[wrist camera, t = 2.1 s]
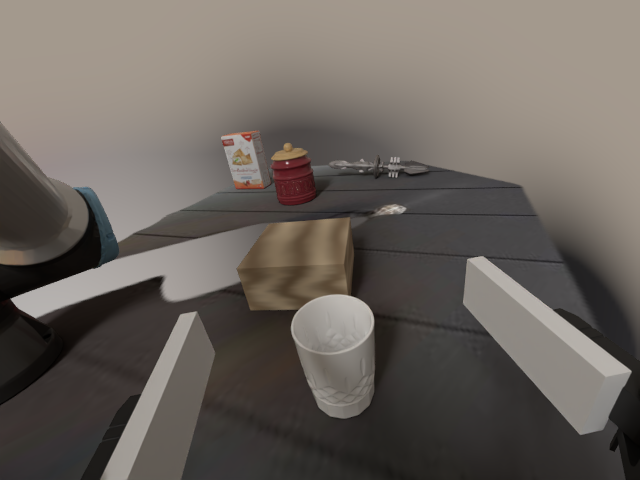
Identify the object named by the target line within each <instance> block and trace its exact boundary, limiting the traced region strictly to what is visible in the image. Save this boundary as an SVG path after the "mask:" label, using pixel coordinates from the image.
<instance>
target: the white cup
mask: <svg viewBox="0 0 640 480" xmlns="http://www.w3.org/2000/svg"><path fill="white" fill-rule="evenodd" d="M291 333H292V336H293V339H294V342H295V345H296V349H297V352H298V355H299V358H300V361H301V364H302V367H303V370H304V373H305V376H306V378H307V381H308V384H309V387H310V388H311V390H312V394H313V396H314V399H315V401H316V403H317V405H318V407H319V408H320V409H321V410H322V411H324V412H325V413H326V414H328V415H329V416H331V417H336V418H342V419H346V418H350V417H353V416H357V415H359V414H360V413H361V412H363V411H364V410H365V409H366V408H367V407H368V406H369V405H370V403H371V400H372V397H373V395H374V374H375V334H374V316H373V313H372V311H371V309H370V308H369V306H368V305H367V304H365V303H364V302H363V301H361V300H360V299H357V298H355V297H352V296H348V295H341V294H334V295H326V296H322V297H319V298H316V299H314V300H312V301H310V302H308V303H306V304H305V305H304V306H302V307H301V308H300V309H299V310H298V311H297V313H296V314H295V316H294V318H293V320H292V323H291Z"/></svg>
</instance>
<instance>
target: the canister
mask: <svg viewBox="0 0 640 480" xmlns="http://www.w3.org/2000/svg"><path fill="white" fill-rule="evenodd" d="M307 153H308V152H307V151H305V150H303V149H302V148H292V145H291V144H290V143H286V144H285V145H284V150H282V151H279V152H276V153H275V155H274V156H273V157H272V158H271V159H272V160H273V163H272V164H271V166H270V167H271V169H273V174H274V175H273V179H274V183H275V187H276V192H277V199H278V200H279V203H281V204H283V205H297V204H302V203H305V202H308V201H311V200H313V199H314V198H315V197H316V187H315V182H314V176H313V169H312V168H311V165H310V162H311V158H309V157H307V155H306V154H307Z"/></svg>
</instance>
